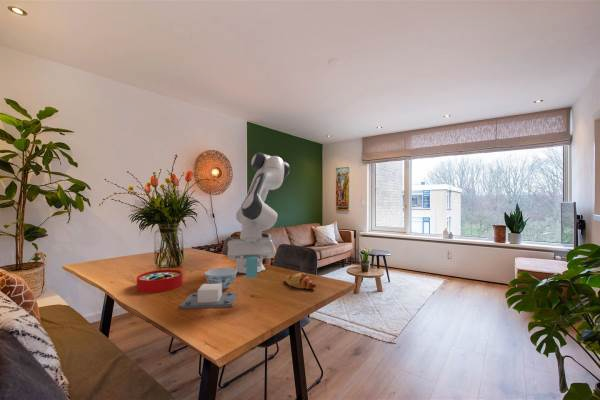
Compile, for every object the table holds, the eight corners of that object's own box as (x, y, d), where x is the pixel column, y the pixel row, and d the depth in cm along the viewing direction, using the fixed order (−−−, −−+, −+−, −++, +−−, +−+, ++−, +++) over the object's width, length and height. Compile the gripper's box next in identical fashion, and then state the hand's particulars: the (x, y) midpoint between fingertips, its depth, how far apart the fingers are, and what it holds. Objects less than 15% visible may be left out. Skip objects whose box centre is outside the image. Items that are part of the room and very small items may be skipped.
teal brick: (245, 274, 114) (246, 256, 114) (256, 274, 115) (257, 255, 115) (246, 278, 110) (246, 258, 110) (257, 277, 111) (257, 258, 111)
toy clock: (190, 270, 140) (161, 282, 120) (190, 282, 140) (161, 295, 120) (158, 268, 145) (126, 278, 125) (158, 279, 145) (126, 291, 125)
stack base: (190, 296, 118) (190, 282, 118) (236, 295, 120) (236, 281, 120) (179, 308, 105) (179, 292, 105) (232, 306, 107) (232, 291, 107)
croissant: (281, 289, 139) (275, 276, 137) (293, 276, 146) (288, 264, 143) (312, 298, 125) (306, 285, 122) (324, 284, 131) (318, 271, 129)
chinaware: (242, 287, 131) (242, 271, 131) (213, 294, 120) (214, 277, 120) (227, 280, 141) (227, 266, 141) (199, 287, 131) (199, 271, 131)
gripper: (227, 235, 117) (225, 262, 107) (274, 234, 121) (276, 261, 112) (227, 243, 121) (226, 270, 112) (273, 243, 126) (275, 269, 116)
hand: (251, 266), depth 112 cm, fingers closed on teal brick, 4 cm apart
